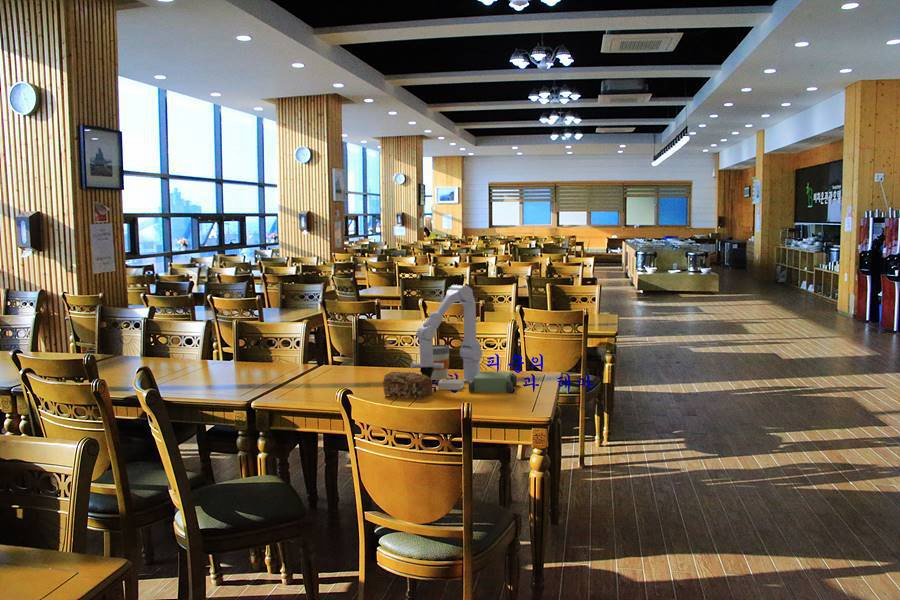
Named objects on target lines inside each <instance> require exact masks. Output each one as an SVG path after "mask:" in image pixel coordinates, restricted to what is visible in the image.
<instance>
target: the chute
mask: <svg viewBox="0 0 900 600" xmlns="http://www.w3.org/2000/svg"><path fill="white" fill-rule="evenodd" d="M464 387H465V381H464V380H463V379H445V380H443V379H441V380H439V381H437V389H438V390H439V391H440V390H441V391H442V390H443V391H444V390H447V391H451V390H453V391H460V390H462V389H463V388H464Z"/></svg>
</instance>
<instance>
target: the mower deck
mask: <svg viewBox="0 0 900 600" xmlns="http://www.w3.org/2000/svg"><path fill="white" fill-rule="evenodd" d="M516 385H517V386H518V376H517V375H515V374H512V371H480V372H479V373H478V374H477V375H475V377H474V381H469V382H468V392H469V393H506V392H507V393H513V390H514V387H517V386H516Z"/></svg>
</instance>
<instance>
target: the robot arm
mask: <svg viewBox="0 0 900 600" xmlns="http://www.w3.org/2000/svg"><path fill="white" fill-rule="evenodd" d="M473 291H474V290H473V289H472V288H471V287H470V286H468V285H460V284H459V285H458V284H452V285H451V286H450V287H449V288H448V290H446V295H445V296H444V298H443V300H442V301H441V302H440V304H439V306H438V308H437V309H436V311H433V312H431V313H429V315H428V318H427V319H426V321H425V322H424V323H423V324H422V326H420V327H419V328H418V329H417V332H416V333H415V334H416V337H417V339H418V344H419V345H418V346H419V360H420V361H419V362H417V363H416V362H415V363H414V362H413V363H410V365H409V366H410V369H420V370H419V372H420V374H422V375H426V376H428V377H429V378H430V379H431V376H432V373H433V370H434V368H440V369H443V368H444V364H443V363H433V345H434V344H433V339H434V338H435V336H436V331H437V329H438V328H439V326H440V325H441V323H442V322H443V320H444V319H443V316H444V314H446V313H447V311H448V310H449V309H450V307H451V306H452V305H453V304H455V303H458V302H459V303H460V304H461V305H462V307H463V308H462V311H463V340H462V342H461V344H460V346H461V347H460V350H459V355H460V358H462V361H463V364H462V365H463V379H462V380H464V382H468V383H469V381H474V377H475V375H477V374H478V373H479V372H481V363H480V361H481V358H482V356H483V351H482V348H481V347H482V346H481V343H480V342H479V341H478V340H477V318H476V317H477V314H476V312H477V311H476V310H477V309H476V308H477V307H476V299H475V296H474V295H473V294H474V293H473Z"/></svg>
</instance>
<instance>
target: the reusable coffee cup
mask: <svg viewBox="0 0 900 600" xmlns="http://www.w3.org/2000/svg"><path fill="white" fill-rule="evenodd" d="M450 352H451V351H450V345H447V344H433V363H443V364H444V368H443V369H440V368H434V370H433V373H432V376H431V380H439V381H440V380H441V379H445V378H447V379H448V372H449V371H448V369H449V367H450V356H449V355H450ZM445 380H446V379H445Z"/></svg>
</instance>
